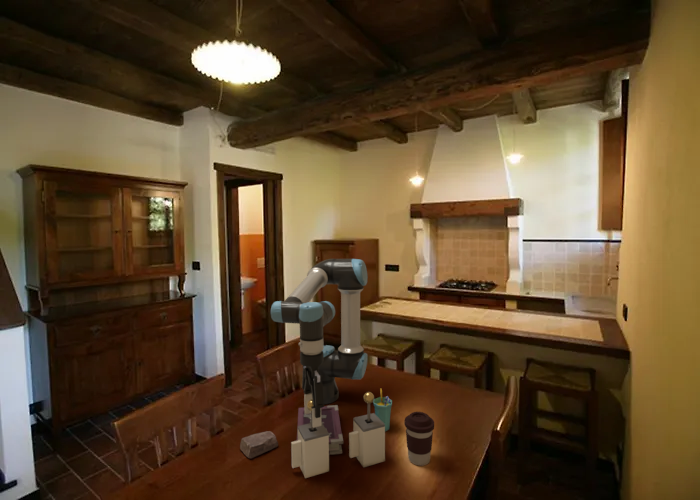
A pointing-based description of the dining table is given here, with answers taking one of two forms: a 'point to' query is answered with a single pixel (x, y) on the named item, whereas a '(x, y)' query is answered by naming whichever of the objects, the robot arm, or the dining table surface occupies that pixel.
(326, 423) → the book
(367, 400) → the plunger
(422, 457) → the coffee cup
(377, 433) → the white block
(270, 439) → the stone
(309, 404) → the plunger
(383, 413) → the cup
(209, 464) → the dining table surface
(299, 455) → the cream joystick box
